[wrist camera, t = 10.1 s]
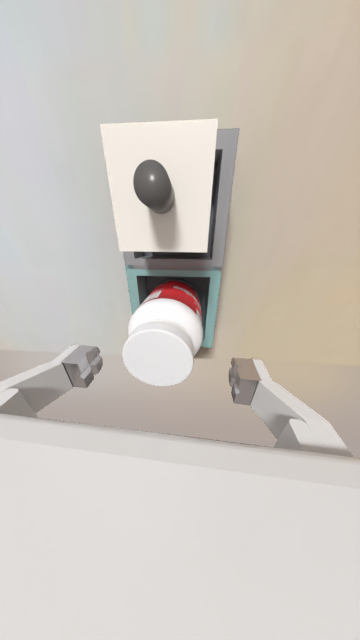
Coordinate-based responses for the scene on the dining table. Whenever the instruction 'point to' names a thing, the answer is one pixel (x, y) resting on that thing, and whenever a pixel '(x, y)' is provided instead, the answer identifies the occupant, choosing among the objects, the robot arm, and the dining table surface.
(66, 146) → the dining table surface
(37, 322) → the dining table surface
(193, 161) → the teal tray with block
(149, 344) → the pill bottle
